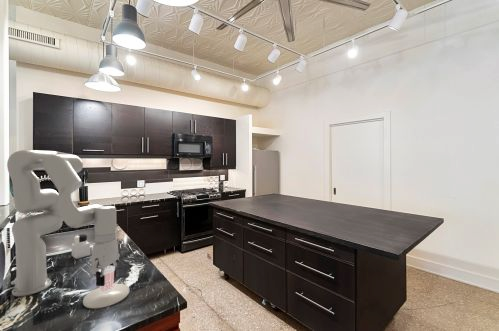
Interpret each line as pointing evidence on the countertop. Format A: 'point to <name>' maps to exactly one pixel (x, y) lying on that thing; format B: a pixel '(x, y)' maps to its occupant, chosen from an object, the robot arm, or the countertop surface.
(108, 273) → the beverage cup
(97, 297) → the dish
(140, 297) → the countertop surface
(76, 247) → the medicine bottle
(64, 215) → the robot arm
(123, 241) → the countertop surface
